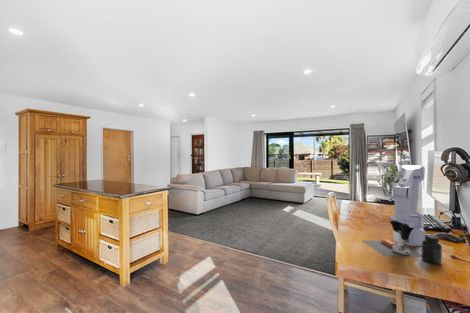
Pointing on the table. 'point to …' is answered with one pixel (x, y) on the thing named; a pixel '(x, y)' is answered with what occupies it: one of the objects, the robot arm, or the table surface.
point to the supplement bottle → (432, 250)
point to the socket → (399, 236)
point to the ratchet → (396, 247)
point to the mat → (388, 249)
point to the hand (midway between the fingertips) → (401, 237)
